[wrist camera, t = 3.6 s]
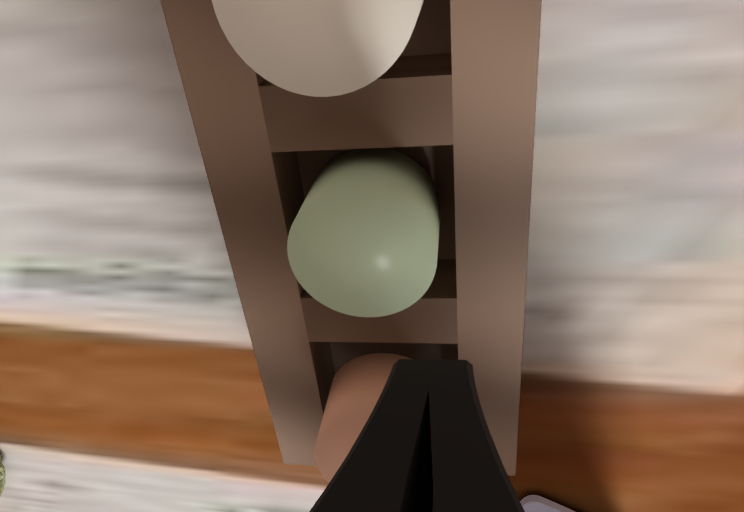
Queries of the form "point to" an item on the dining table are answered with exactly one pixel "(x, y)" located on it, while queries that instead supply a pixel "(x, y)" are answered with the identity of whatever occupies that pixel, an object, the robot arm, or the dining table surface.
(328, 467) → the terracotta button
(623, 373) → the dining table surface
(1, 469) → the washcloth
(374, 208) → the sage button
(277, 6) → the cream button
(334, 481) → the robot arm
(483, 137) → the button panel
